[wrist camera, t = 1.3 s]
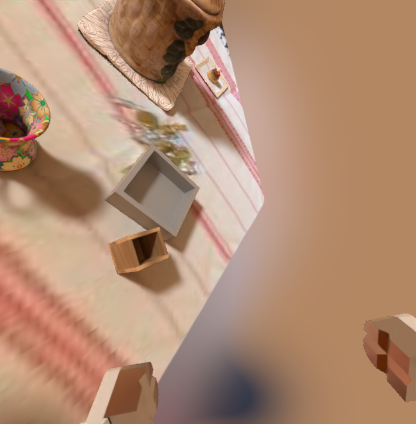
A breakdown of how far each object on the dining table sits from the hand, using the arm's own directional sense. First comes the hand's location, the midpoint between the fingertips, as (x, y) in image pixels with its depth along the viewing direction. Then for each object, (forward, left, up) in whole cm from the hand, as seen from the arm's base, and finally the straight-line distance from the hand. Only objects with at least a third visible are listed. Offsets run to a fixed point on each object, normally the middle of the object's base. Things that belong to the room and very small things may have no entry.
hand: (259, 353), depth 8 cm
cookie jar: (-20, +57, -35) cm, 70 cm away
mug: (-21, +13, -35) cm, 43 cm away
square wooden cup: (+4, +11, -34) cm, 36 cm away
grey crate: (+2, +24, -34) cm, 42 cm away
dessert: (-3, +79, -35) cm, 86 cm away
